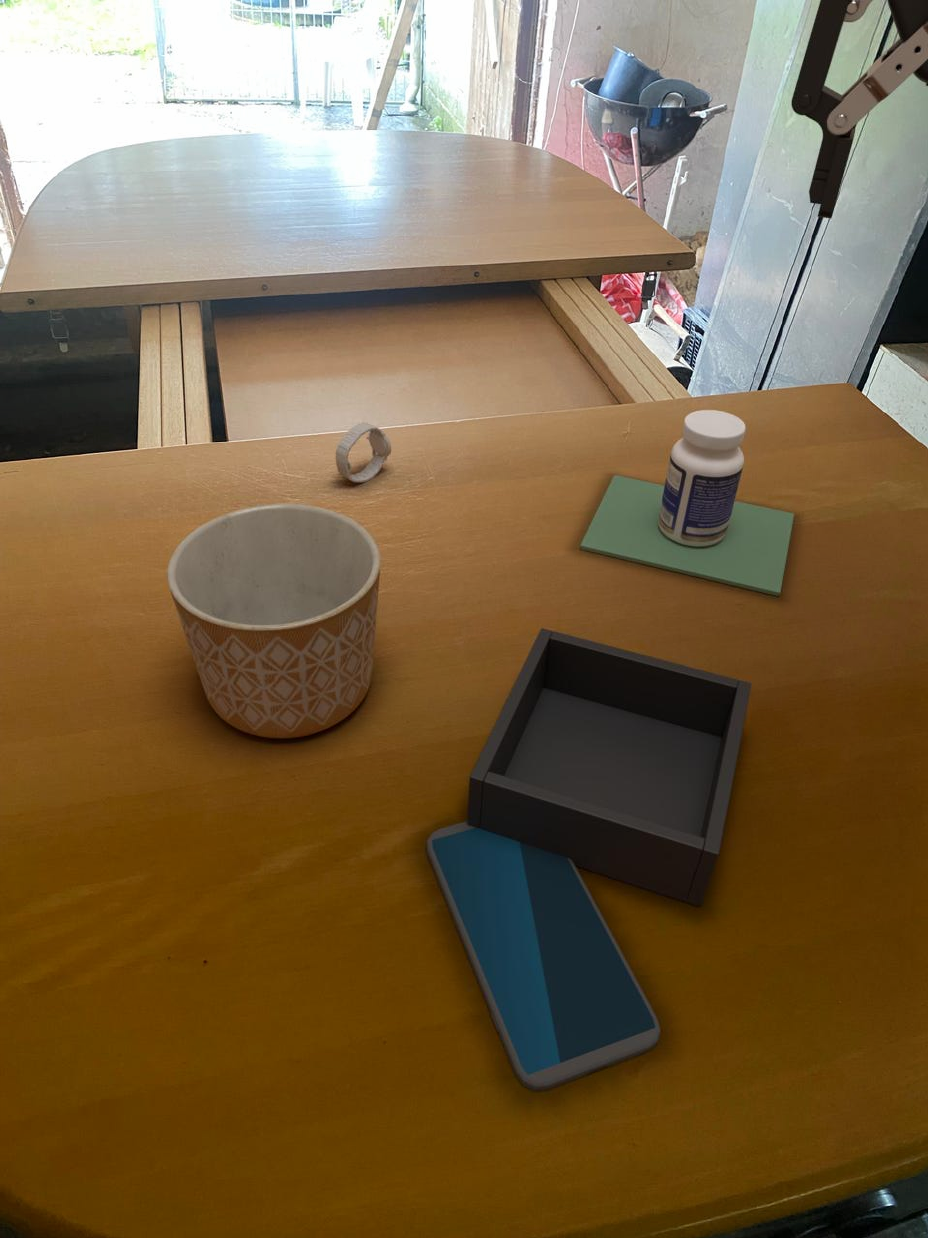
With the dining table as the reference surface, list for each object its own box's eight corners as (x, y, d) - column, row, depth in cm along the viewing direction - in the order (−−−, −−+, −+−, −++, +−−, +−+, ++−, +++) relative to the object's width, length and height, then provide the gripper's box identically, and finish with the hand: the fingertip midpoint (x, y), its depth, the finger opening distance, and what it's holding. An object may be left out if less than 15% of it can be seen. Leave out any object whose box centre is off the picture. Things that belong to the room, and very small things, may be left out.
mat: (793, 517, 80) (794, 513, 80) (779, 596, 71) (780, 592, 71) (613, 478, 84) (614, 474, 84) (579, 549, 75) (580, 545, 75)
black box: (734, 735, 60) (752, 682, 57) (700, 907, 50) (718, 854, 47) (535, 680, 63) (541, 627, 60) (466, 830, 53) (469, 776, 50)
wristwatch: (393, 472, 83) (392, 423, 80) (353, 494, 80) (350, 443, 77) (371, 461, 85) (369, 412, 82) (330, 482, 82) (327, 431, 79)
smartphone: (540, 809, 55) (542, 799, 55) (667, 1047, 44) (670, 1038, 44) (420, 843, 53) (420, 833, 52) (523, 1102, 42) (525, 1093, 42)
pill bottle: (736, 525, 78) (764, 419, 71) (709, 557, 74) (737, 448, 68) (673, 503, 80) (695, 398, 74) (645, 533, 77) (665, 425, 70)
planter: (227, 783, 55) (201, 655, 49) (172, 656, 64) (143, 532, 57) (416, 715, 60) (415, 590, 54) (341, 605, 69) (333, 485, 62)
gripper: (864, -228, 34) (759, 227, 44) (1313, -220, 30) (1084, 273, 41) (870, -216, 39) (775, 188, 50) (1252, -207, 36) (1063, 225, 46)
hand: (914, 226), depth 45 cm, fingers open, 8 cm apart
